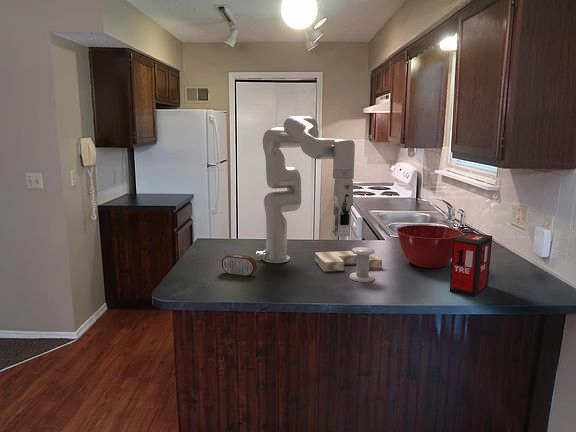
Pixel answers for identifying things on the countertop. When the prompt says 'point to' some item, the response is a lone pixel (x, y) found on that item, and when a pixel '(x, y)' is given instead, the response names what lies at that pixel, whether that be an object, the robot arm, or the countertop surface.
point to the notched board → (343, 260)
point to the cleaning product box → (470, 264)
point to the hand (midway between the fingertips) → (341, 222)
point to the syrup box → (337, 228)
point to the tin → (239, 265)
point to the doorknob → (362, 265)
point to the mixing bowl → (428, 244)
